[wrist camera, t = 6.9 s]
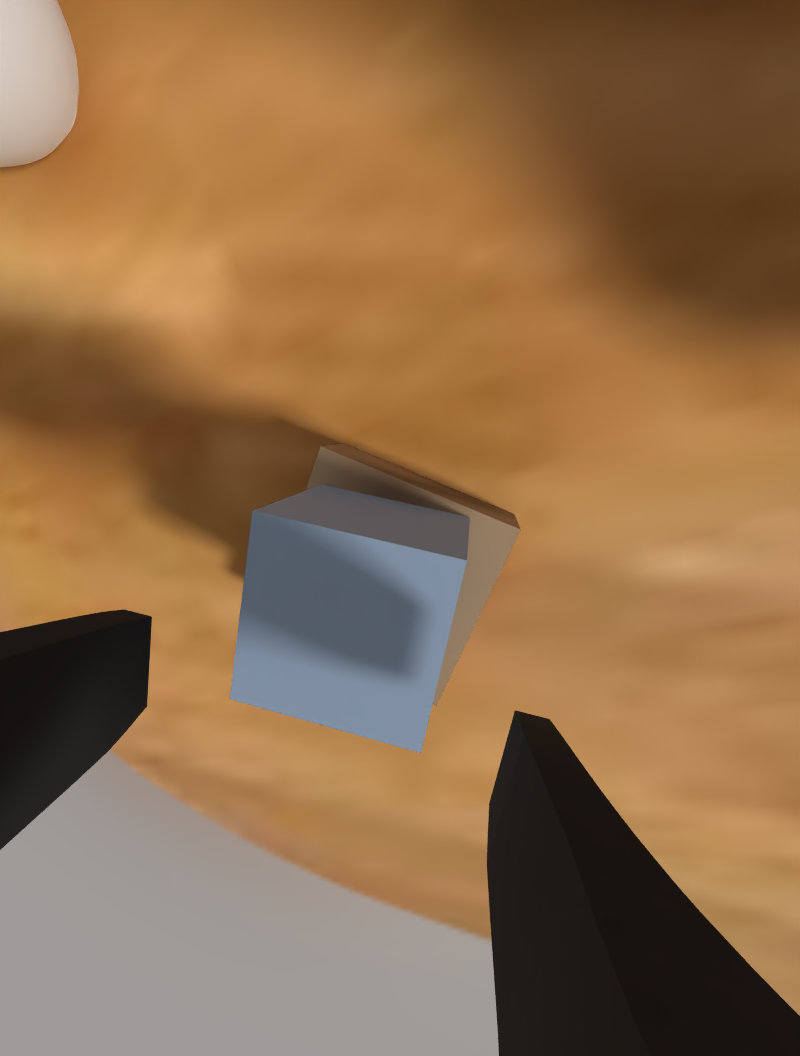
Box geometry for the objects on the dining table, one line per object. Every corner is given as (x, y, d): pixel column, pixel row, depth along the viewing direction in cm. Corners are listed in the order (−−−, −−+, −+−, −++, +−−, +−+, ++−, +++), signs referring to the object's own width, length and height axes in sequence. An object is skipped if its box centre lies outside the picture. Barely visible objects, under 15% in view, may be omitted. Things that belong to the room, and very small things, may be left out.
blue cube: (470, 517, 15) (467, 560, 10) (437, 655, 16) (420, 752, 11) (322, 484, 16) (252, 510, 11) (301, 620, 17) (229, 699, 12)
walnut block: (513, 512, 18) (520, 529, 15) (442, 664, 19) (436, 705, 17) (345, 442, 18) (320, 446, 15) (291, 597, 20) (259, 626, 17)
